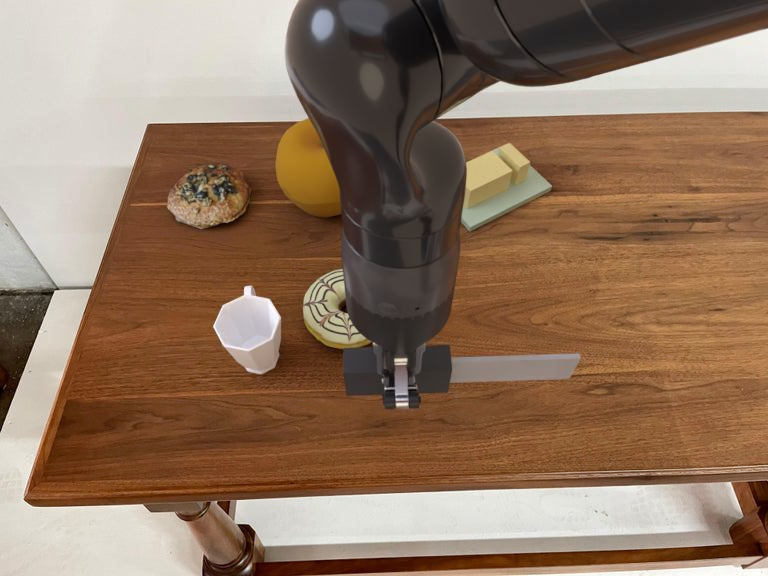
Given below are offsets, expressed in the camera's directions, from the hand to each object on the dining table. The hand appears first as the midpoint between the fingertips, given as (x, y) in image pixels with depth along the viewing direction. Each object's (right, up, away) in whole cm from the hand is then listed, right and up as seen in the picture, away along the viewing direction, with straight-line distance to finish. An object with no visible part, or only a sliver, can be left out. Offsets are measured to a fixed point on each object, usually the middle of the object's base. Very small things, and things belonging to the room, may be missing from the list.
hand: (396, 381), depth 54 cm
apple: (-9, +21, +29) cm, 37 cm away
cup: (-16, +1, +16) cm, 23 cm away
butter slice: (+17, +24, +31) cm, 43 cm away
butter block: (+12, +22, +29) cm, 38 cm away
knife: (+5, 0, 0) cm, 6 cm away
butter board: (+14, +22, +30) cm, 40 cm away
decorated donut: (-5, +5, +19) cm, 20 cm away
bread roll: (-25, +20, +29) cm, 43 cm away
